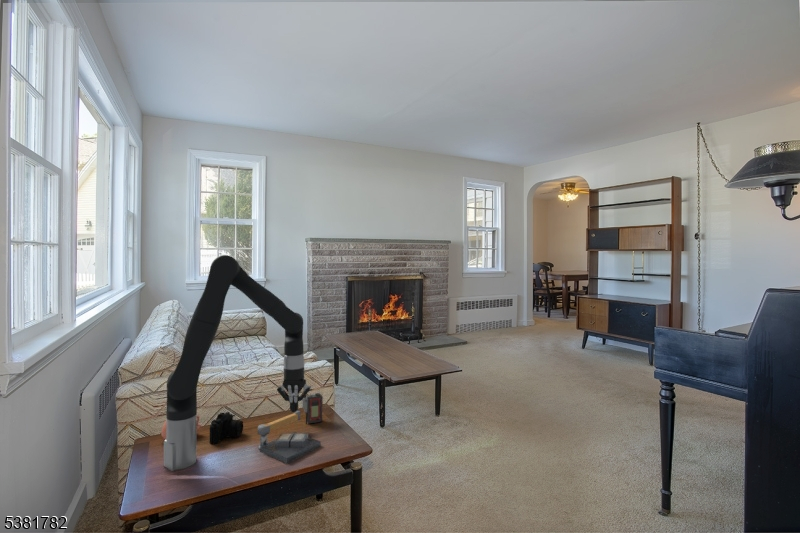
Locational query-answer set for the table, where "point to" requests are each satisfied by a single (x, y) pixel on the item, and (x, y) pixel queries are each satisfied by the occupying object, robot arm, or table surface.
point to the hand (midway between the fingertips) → (294, 411)
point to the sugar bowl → (166, 428)
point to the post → (262, 440)
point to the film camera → (224, 427)
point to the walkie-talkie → (313, 407)
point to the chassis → (290, 446)
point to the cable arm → (278, 423)
